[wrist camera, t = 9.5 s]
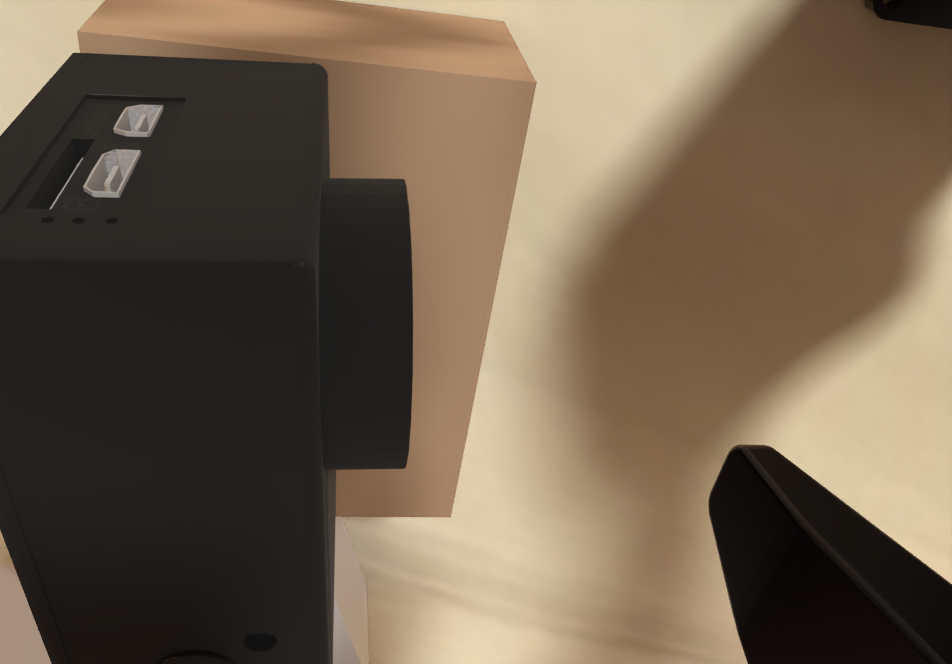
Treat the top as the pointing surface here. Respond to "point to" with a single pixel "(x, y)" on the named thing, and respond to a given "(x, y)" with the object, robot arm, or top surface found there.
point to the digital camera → (191, 357)
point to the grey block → (349, 602)
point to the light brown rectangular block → (390, 176)
